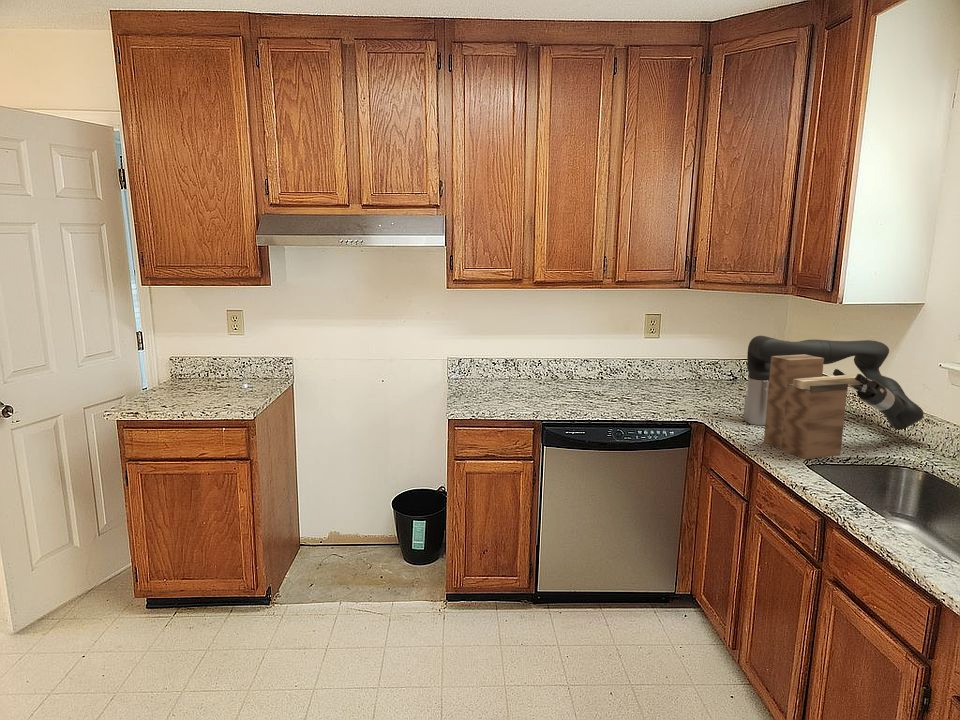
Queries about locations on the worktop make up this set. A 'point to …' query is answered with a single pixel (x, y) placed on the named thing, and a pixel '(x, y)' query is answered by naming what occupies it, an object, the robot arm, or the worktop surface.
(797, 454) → the stepped shelf
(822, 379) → the birch plank
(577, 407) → the worktop surface
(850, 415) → the worktop surface
